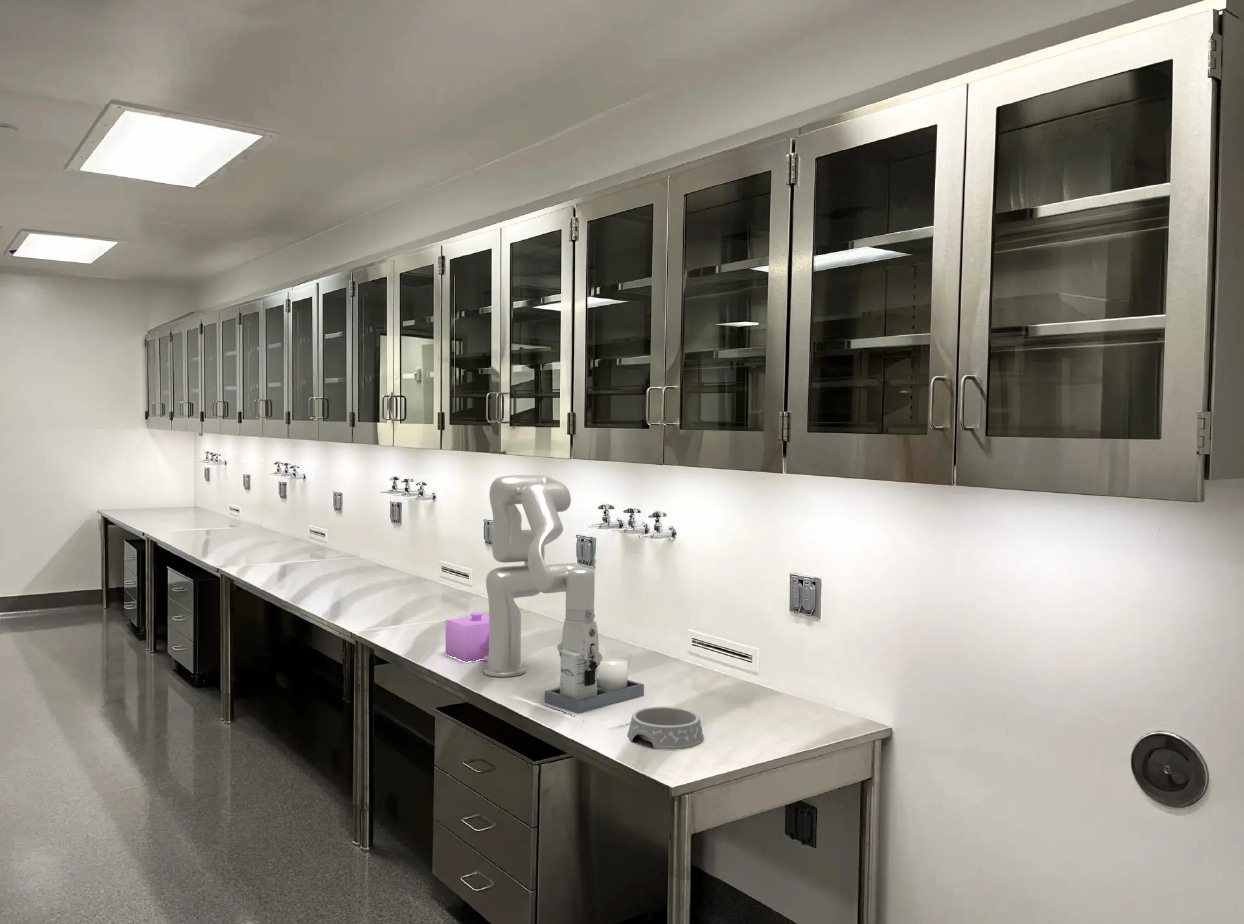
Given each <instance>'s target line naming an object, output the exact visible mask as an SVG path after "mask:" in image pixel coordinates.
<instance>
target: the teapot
mask: <svg viewBox="0 0 1244 924" xmlns="http://www.w3.org/2000/svg"><path fill="white" fill-rule="evenodd" d="M444 651H445V654H447V655H449V656H452V657H456V658H457V659H460V660H462V661H465V662H468V661H476V660H479V659H484V657H485V656H487V655H488V654H489V614H487V613H486V614H483V612H480V611H479V612H478V611H476V612H471V613H470V616H469V615H468V616H463V617H455V618H448V619H446V620H445V650H444Z"/></svg>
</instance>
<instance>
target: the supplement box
mask: <svg viewBox="0 0 1244 924" xmlns="http://www.w3.org/2000/svg"><path fill="white" fill-rule="evenodd" d="M592 656H593V657H594V655H593V654H592V653H590V654H589V655H588V658H590V657H592ZM594 659H595V657H594ZM589 664H591V660H590V661H589ZM585 670H587V669H586V666H585V664H584V661H583V660H582V654H579V653H575V652H572V651H568V650H565V649H563V650H561V657H560V679H559V680H560V682H559V687H560V694H561V695H564V696H567V697H570V698H573V699H576V700H581V699H585V698H588V697H592V696H596V695H597V678H598V667H597V669H595V684H593V685H589V686H585Z"/></svg>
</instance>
